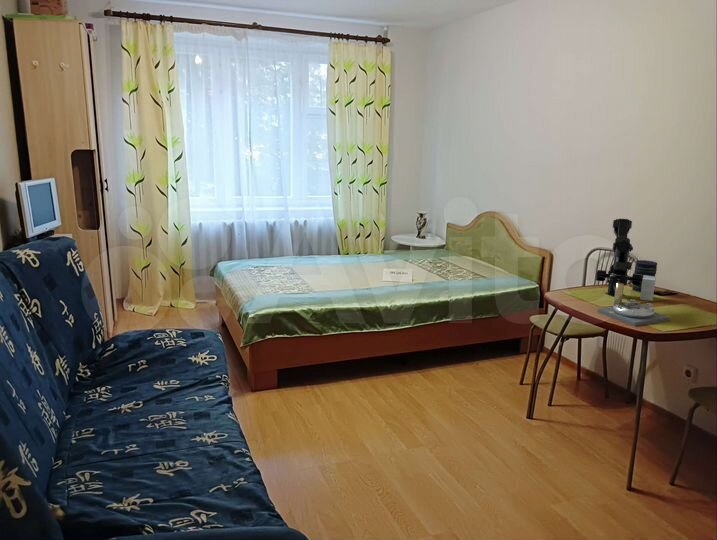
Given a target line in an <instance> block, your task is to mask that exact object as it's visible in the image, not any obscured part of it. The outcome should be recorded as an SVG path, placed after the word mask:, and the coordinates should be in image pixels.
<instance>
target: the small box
mask: <svg viewBox="0 0 717 540" xmlns="http://www.w3.org/2000/svg"><path fill="white" fill-rule="evenodd" d="M656 279H657V277H656V276H655V277H654V276H646V275H643V280H642V287H641V292H640V296H639V300H641V301H642V300H644V301H653V300H654V292H655V287H656Z"/></svg>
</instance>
